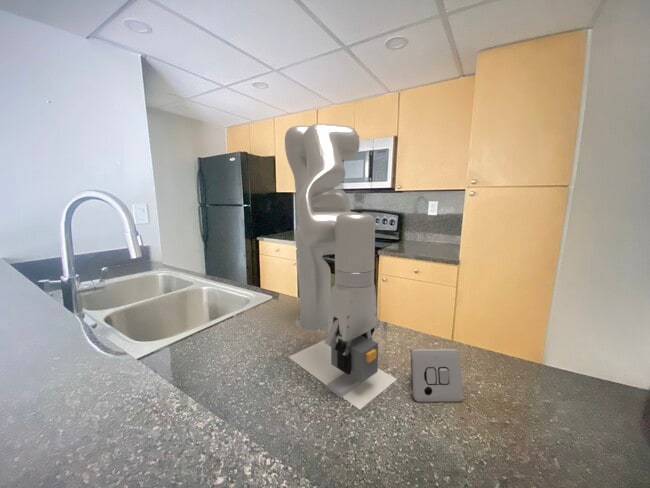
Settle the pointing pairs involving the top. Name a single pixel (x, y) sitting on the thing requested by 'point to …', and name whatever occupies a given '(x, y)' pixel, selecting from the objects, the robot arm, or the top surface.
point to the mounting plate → (341, 376)
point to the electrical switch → (436, 375)
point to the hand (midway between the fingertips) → (353, 364)
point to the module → (360, 357)
